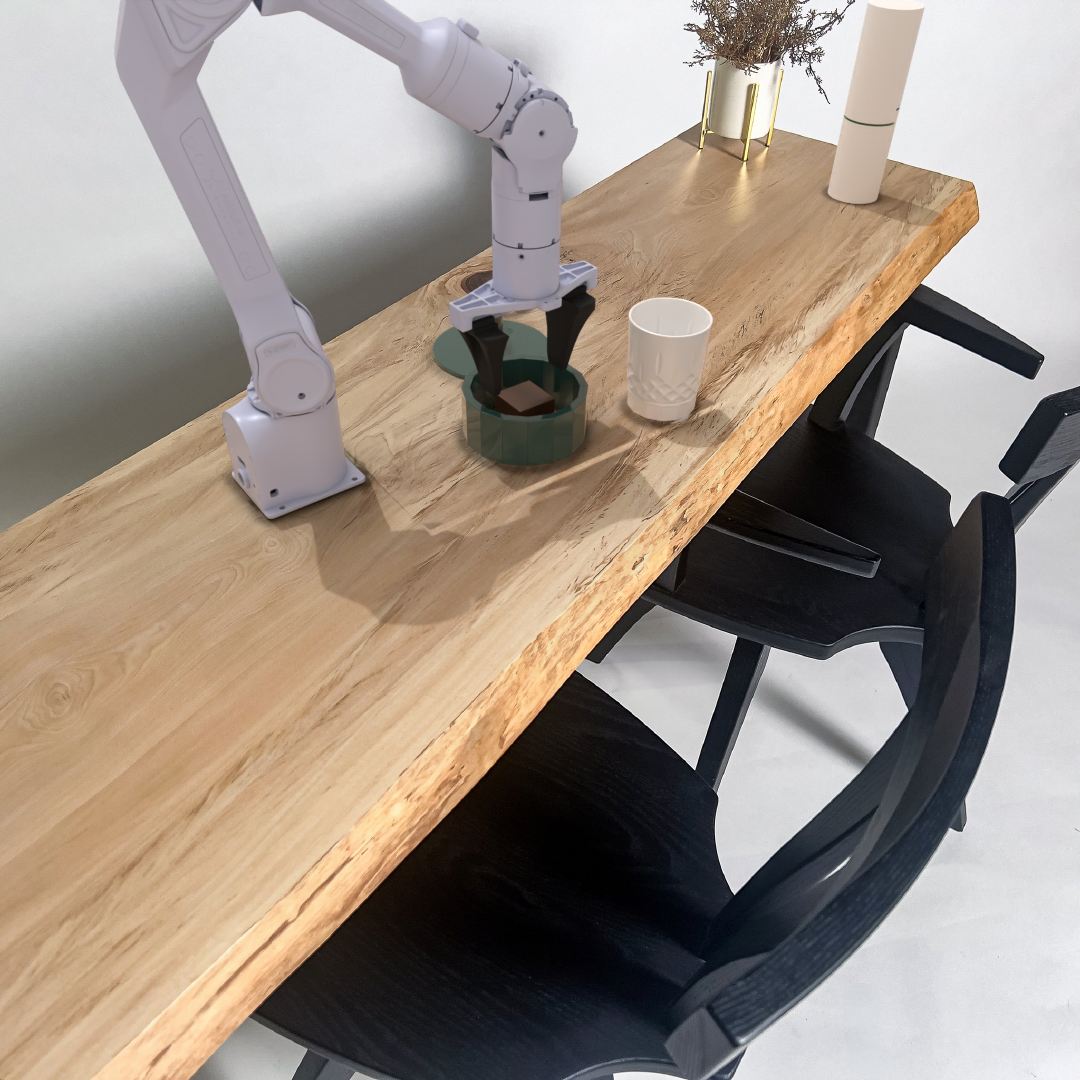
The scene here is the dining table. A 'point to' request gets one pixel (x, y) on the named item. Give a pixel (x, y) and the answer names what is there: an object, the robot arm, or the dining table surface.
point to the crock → (526, 435)
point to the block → (524, 401)
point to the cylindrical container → (874, 98)
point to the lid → (458, 357)
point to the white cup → (666, 357)
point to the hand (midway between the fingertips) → (524, 377)
